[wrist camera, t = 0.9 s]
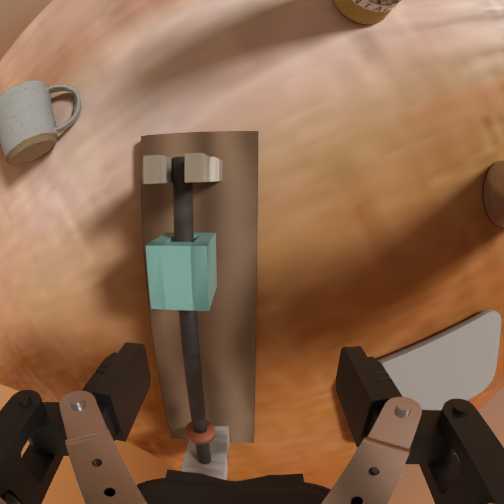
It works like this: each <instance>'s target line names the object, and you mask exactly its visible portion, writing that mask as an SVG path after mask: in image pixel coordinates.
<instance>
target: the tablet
mask: <svg viewBox="0 0 504 504" xmlns="http://www.w3.org/2000/svg"><path fill="white" fill-rule="evenodd" d="M500 331H501V317H500V315H499V313H498V312H496V311H495V310H487V311H482V312H480V313H478V314H476V315H474V316H472V317H471V318H469V319H467V320H465V321H463V322H461V323H459V324H457V325H455V326H453V327H451V328H449V329H447V330H445V331H443V332H441V333H439V334H437V335H434V336H432V337H430V338H428V339H426V340H423V341H421V342H419V343H417V344H414V345H412V346H410V347H408V348H405V349H403V350H400V351H398V352H396V353H393V354H391V355H388V356H386V357H383V358H381V359H378V361H379V362H381V363H382V365H383V366H384V368H385V370H386V372H387V373H388V374H389V376H390V378H391V379H392V380H393V382H394V384H395V385H396V387H397V388H398V390H399V392H400V393H401V395H402V396H403V397H407V398H411V399H413V400H415V401H416V402H418V403H419V404H420V406H421V408H422V410H442V408H443V405H444V403H445V402H447V401H448V400H450V399H463V400H466V401H467V400H469V399H470V398H472V397H474V396H475V395H477V394H479V393H480V392H482V391H483V390H484V389H485V388H486V387H487V386H488V385H489V384H490V382H491V381H492V379H493V377H494V375H495V371H496V365H497V358H498V350H499V341H500Z"/></svg>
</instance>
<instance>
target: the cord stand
mask: <svg viewBox="0 0 504 504" xmlns="http://www.w3.org/2000/svg"><path fill="white" fill-rule="evenodd" d="M141 206H142V230H143V247H144V261H145V273H146V284H147V294H148V304H149V312H150V320H151V328H152V336H153V343H154V349H155V356H156V362H157V368H158V374H159V380H160V385H161V391H162V396H163V401H164V406H165V411H166V416H167V421H168V425H169V430H170V434H171V438H179V439H189V441H188V445H187V449H186V454H185V458H184V463H183V468H182V471H183V472H193V473H201V474H205V475H208V476H212V477H216V478H220V479H224V480H227V468H228V456H229V442H242V443H254V411H255V356H256V291H257V213H258V131H221V132H191V133H173V134H159V135H147V136H141ZM164 233H174V242H194V233H216V269H217V288H216V291H215V294H214V297H213V300H212V303H211V306H210V309H209V311H190V310H166V309H151V303H150V294H149V283H148V272H147V259H146V245H147V244H149V243H150V242H152V241H153V240H155V239H157V238H158V237H160V236H161V235H163V234H164Z"/></svg>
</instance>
